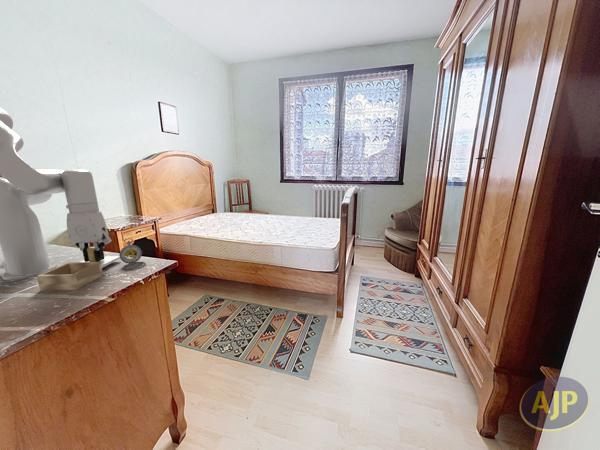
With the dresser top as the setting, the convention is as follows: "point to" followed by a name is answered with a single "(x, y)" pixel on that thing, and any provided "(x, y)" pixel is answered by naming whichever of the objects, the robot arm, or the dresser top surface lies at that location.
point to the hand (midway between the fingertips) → (94, 259)
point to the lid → (104, 262)
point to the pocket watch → (131, 255)
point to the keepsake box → (70, 276)
